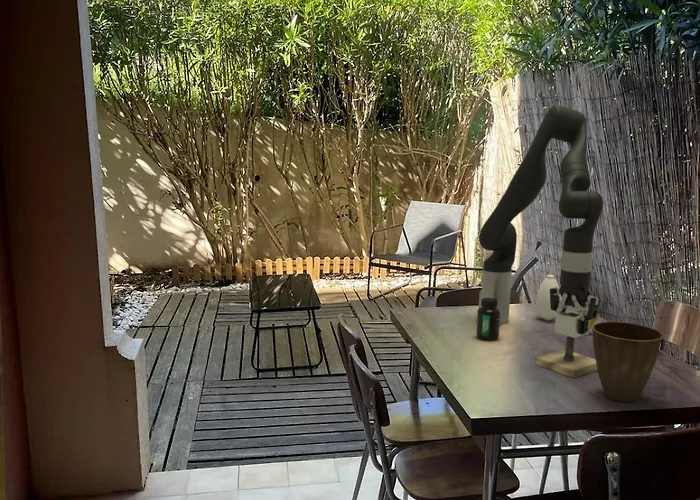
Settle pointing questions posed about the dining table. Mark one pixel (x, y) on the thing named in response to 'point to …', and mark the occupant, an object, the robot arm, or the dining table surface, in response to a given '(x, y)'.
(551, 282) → the white vase
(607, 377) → the plant pot
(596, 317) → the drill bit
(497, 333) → the supplement bottle
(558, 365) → the post block
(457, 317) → the dining table surface
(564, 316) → the collar
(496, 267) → the robot arm
